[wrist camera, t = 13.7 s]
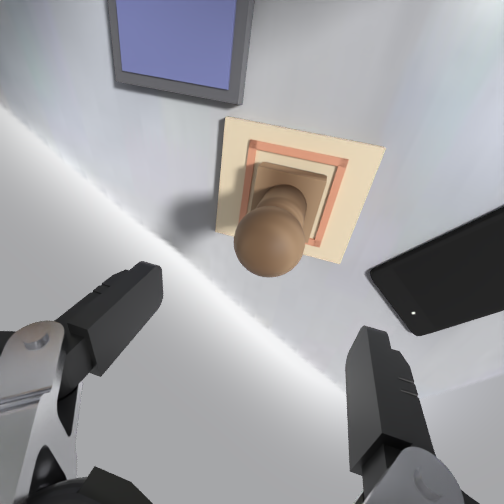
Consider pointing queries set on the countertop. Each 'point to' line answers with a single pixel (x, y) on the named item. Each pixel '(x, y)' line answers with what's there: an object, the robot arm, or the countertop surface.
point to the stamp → (278, 219)
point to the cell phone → (448, 277)
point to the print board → (305, 158)
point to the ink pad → (183, 45)
